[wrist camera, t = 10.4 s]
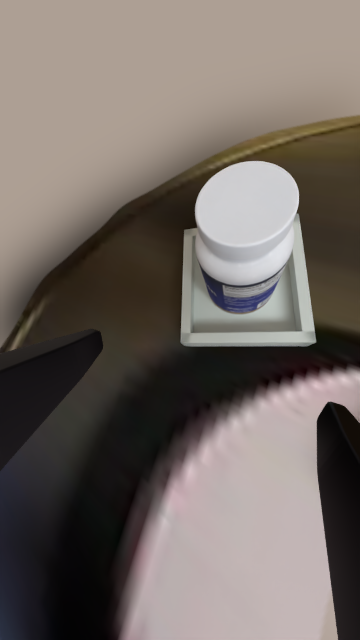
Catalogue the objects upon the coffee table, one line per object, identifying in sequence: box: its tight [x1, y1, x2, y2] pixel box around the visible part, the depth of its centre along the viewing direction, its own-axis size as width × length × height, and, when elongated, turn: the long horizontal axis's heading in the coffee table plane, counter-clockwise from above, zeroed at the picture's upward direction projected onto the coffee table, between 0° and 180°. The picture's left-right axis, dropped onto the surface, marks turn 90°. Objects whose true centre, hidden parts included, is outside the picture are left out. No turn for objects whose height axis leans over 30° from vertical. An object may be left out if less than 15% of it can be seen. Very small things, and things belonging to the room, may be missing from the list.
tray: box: [181, 214, 316, 346], centre depth 19 cm, size 11×10×2 cm
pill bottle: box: [195, 161, 299, 315], centre depth 14 cm, size 6×6×10 cm
